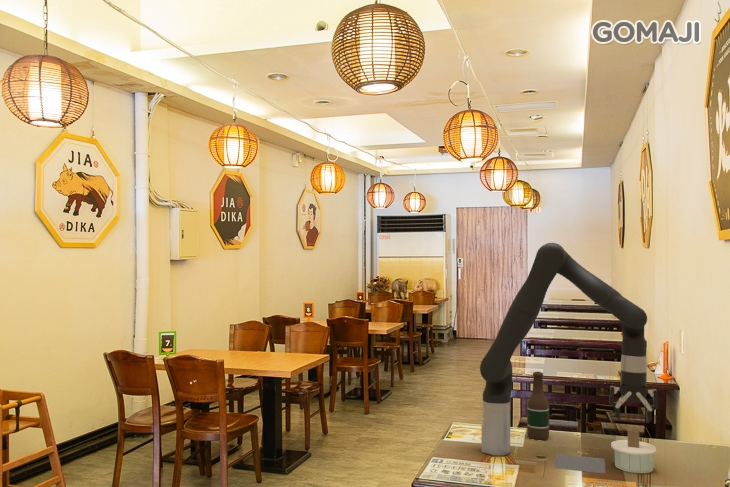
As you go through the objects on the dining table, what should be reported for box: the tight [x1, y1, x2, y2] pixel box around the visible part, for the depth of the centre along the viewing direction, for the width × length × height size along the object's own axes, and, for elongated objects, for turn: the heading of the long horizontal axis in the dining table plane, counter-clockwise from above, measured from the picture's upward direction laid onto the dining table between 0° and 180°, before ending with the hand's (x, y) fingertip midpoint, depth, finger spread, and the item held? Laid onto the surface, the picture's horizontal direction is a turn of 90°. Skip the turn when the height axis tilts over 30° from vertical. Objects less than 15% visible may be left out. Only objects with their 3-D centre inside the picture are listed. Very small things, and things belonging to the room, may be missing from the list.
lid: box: [610, 427, 657, 456], centre depth 198 cm, size 13×13×6 cm
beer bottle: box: [526, 371, 550, 441], centre depth 231 cm, size 8×8×24 cm
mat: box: [554, 453, 606, 474], centre depth 201 cm, size 15×15×1 cm
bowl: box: [614, 450, 654, 474], centre depth 198 cm, size 11×11×6 cm
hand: (633, 421), depth 198 cm, fingers open, 8 cm apart
